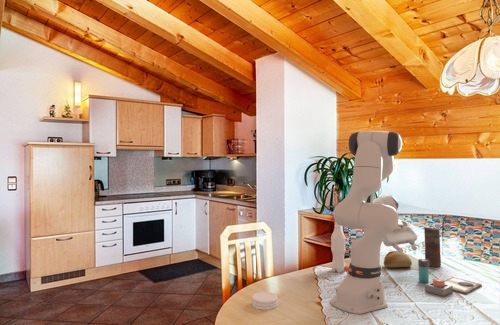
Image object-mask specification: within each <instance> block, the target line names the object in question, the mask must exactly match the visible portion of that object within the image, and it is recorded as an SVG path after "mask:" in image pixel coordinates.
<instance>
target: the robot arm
mask: <svg viewBox="0 0 500 325" xmlns="http://www.w3.org/2000/svg"><path fill="white" fill-rule="evenodd" d="M347 144H348V150H349V152H350V153H351V154H352V155H353V156H355V157H354V162H353V174H352V175H353V176H352V181H351V186H350V188H349V192H347V194H346V196H345V198H344V199H343V200H341V201H340V202H338V203H337V204H336V205H335V207H334V209H333V219H334V221H335V222H336V223H337V224H338V225H341V226H342V227H344V228H347V229H354V230H360V231H361V230H363V235H362V237H360V238H359V237H358V238H357V239H355V240H353V242H352V243H351V245H350V263H349V266H347V265H346V266H345V268H344V272H347V275H346V276H345V277H344V279H343V280H342V281H341V282H340V283H339V284H338V286H337V288H336V295H335V297H333V298H331V299H329V303H330V305H332V306H333V307H335V308H337V309H339V310H342V311H344V312H347V313H350V314H356V315H361V314H365V313H369V312H373V311H377V310H381V309H385V308H388V303H387V302H386V298H385V287H384V283H383V281H382V278H381V276H382V266H381V263H380V262H381V261H380V258H381V248H382V243H383V244H384V246H385V247H392V248H393V249H395V251H398V252H399V253H402V252H403V253H404V249H403V247H400V246H401V245H405V244H409V245H410V246H411V247H410V249H411V250H412V251H417V250H418V247H417V246H416V241H417V240H418V235H417V234H416V232H415V231H414V229H413V228H412V227H411V226H409V223H408V222H407V221H405V220H401V219H400V218H399V212H398V209H399V202H398V200H397V199H396V198H395V196H393V195H391V194H390V193H389V194H384V195H381V196H378V197H376V198H374V194H375V193H377V192H378V191H380V189H381V187H382V182H383V181H384V180H385V179H387V178H388V177H389V176H391V174H392V173H394V172H393V171H394V169H395V168H394V167H395V162H394V160H395V159H394V156H397V155H398V154H400V152H401V150H402V148H403V147H402V146H403V139H402V137H401V134H399V132H397V131H384V130H383V131H382V130H378V131H377V130H376V131H375V130H367V131H355V132H353V133H352V134H351V135H349V138H348V143H347ZM399 245H400V246H399Z"/></svg>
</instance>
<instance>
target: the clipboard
mask: <svg viewBox="0 0 500 325" xmlns="http://www.w3.org/2000/svg"><path fill="white" fill-rule="evenodd" d="M444 281H445V284H448V285H452V289H453V292H456V293H458V292H459V294H462V295H467V293H468V294H469V292H470V293H471V292H473V291H475V290H477V289H478V287H479V288H480V286H481V287H482V286H483V285H482V283H479V282H473V281H471V280H466V279H462V278H458V277H454V276H452V277H450V278H447V279H445V280H444ZM476 288H477V289H476ZM474 289H475V290H474ZM472 290H473V291H472Z"/></svg>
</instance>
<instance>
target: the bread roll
mask: <svg viewBox="0 0 500 325" xmlns="http://www.w3.org/2000/svg"><path fill="white" fill-rule="evenodd" d="M412 264H413V261H412V259H411V258H410V256H409V255H408V254H407V253H405V252H404V251H403V252H402V253H399V252H398V251H397V250H393V251H389V252H387V253H386V254H385V257H384V259H383V265H384V267H385V268H410V267H411V266H412Z"/></svg>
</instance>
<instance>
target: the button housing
mask: <svg viewBox="0 0 500 325" xmlns="http://www.w3.org/2000/svg"><path fill="white" fill-rule="evenodd" d="M424 290H425V292H426V293H429V294H432V295H436V296H439V297H442V298H444V297H447V296H449V295H451V294H453V292H454V291H453V289H452V285H448V284H445V287H444V288H440V287H436V286H433V280H432V281H430V282H429V283H428V284H424Z"/></svg>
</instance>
